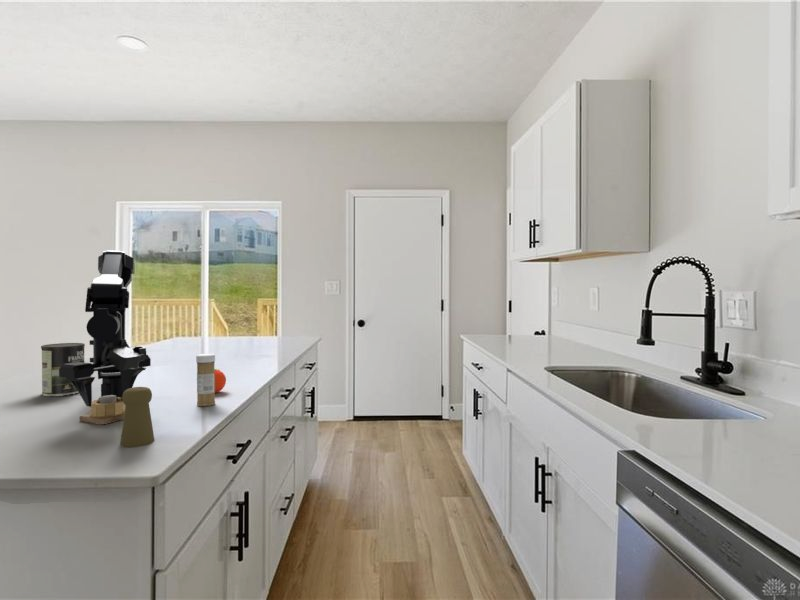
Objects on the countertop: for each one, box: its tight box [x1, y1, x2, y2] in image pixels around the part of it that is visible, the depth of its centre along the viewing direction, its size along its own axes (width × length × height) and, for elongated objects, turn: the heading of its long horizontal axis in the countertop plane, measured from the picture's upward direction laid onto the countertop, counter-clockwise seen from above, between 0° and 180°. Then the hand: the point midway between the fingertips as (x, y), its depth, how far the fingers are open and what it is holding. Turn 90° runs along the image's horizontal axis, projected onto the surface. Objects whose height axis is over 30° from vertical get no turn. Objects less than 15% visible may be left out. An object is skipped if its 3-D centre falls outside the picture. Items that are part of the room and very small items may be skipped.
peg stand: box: [79, 395, 124, 425], centre depth 109 cm, size 8×8×5 cm
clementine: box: [214, 368, 227, 394], centre depth 137 cm, size 8×7×7 cm
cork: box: [119, 386, 155, 448], centre depth 92 cm, size 6×6×11 cm
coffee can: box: [40, 342, 86, 397], centre depth 134 cm, size 10×10×14 cm
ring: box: [89, 397, 126, 418], centre depth 109 cm, size 7×7×3 cm
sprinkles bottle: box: [195, 353, 216, 407], centre depth 122 cm, size 5×5×13 cm
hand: (108, 401), depth 109 cm, fingers open, 9 cm apart
